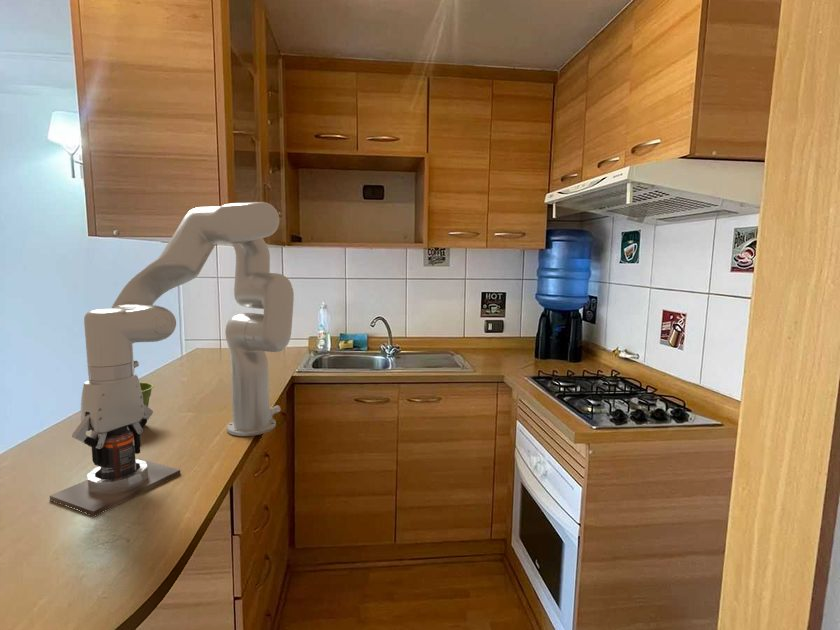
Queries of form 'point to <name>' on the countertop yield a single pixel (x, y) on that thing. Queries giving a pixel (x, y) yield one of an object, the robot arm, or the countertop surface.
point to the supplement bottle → (119, 454)
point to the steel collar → (117, 480)
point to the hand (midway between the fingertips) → (117, 458)
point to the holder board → (96, 504)
